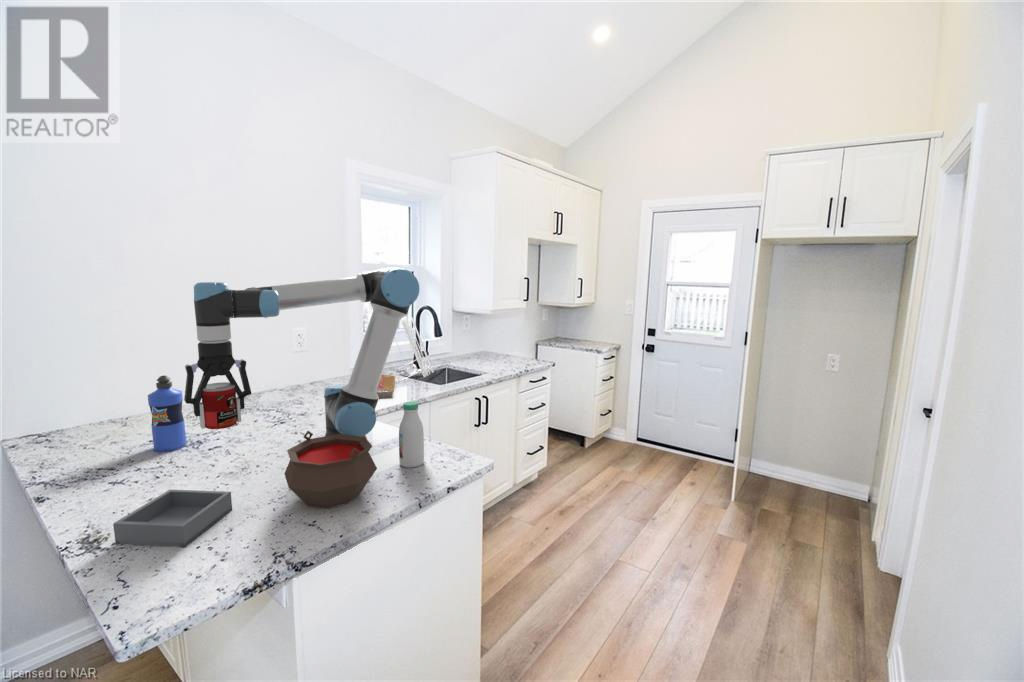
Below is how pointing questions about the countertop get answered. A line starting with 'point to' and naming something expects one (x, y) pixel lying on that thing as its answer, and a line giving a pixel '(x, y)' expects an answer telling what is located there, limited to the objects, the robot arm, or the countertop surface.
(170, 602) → the countertop surface
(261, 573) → the countertop surface
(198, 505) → the bin
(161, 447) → the water bottle
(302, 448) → the brown cooking pot
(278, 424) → the countertop surface
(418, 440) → the milk bottle
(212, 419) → the canned food
